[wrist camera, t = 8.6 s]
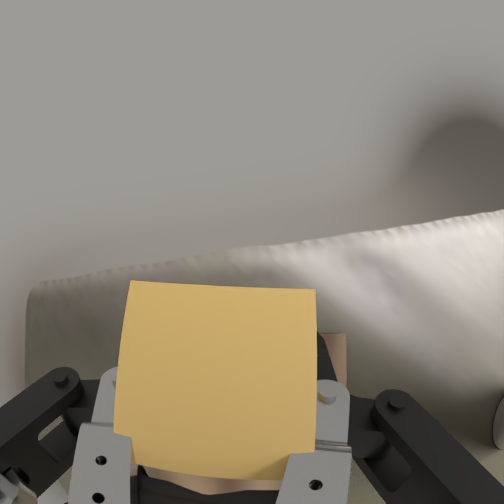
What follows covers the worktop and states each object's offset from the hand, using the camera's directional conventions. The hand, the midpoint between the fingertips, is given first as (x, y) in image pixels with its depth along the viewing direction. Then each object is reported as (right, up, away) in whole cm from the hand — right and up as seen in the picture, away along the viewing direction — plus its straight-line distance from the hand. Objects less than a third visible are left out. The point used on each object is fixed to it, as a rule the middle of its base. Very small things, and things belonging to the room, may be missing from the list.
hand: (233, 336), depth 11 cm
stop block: (0, -4, +3) cm, 5 cm away
